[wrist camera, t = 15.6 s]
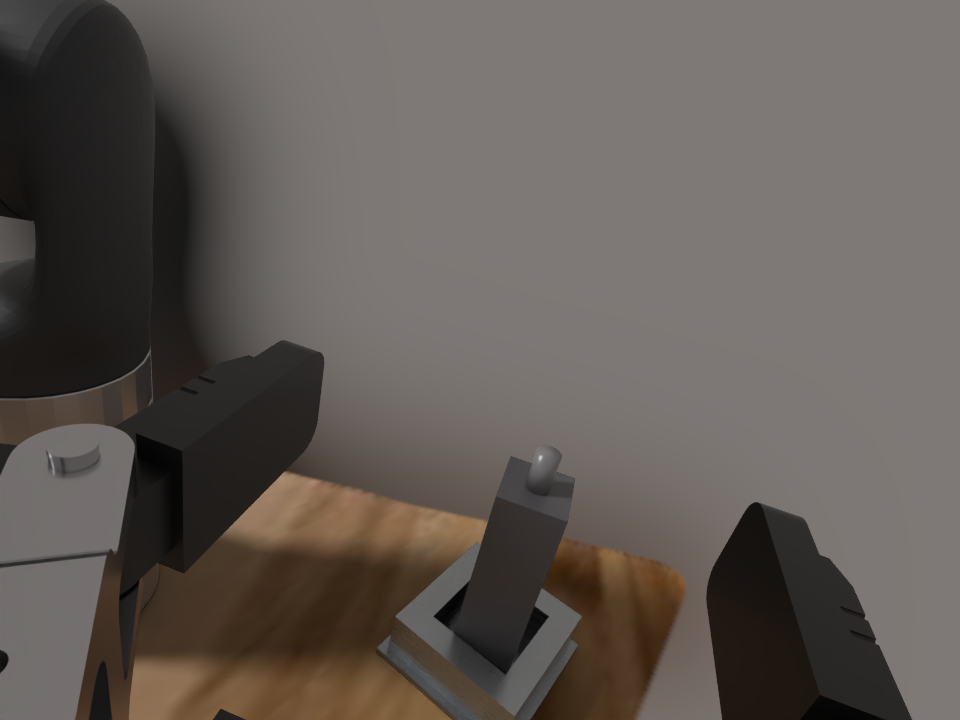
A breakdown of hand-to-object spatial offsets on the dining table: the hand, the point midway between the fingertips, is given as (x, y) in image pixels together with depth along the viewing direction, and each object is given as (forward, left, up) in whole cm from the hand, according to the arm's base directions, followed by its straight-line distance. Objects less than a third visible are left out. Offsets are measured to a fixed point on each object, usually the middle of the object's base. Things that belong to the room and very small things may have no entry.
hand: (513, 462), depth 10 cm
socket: (-5, +17, -28) cm, 33 cm away
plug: (-5, +17, -28) cm, 33 cm away
